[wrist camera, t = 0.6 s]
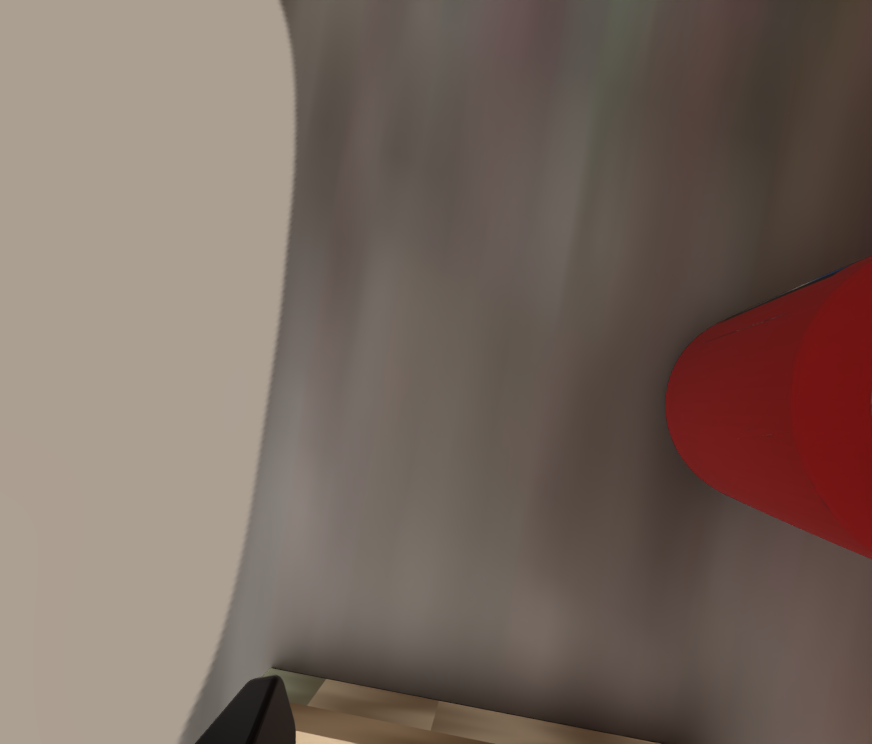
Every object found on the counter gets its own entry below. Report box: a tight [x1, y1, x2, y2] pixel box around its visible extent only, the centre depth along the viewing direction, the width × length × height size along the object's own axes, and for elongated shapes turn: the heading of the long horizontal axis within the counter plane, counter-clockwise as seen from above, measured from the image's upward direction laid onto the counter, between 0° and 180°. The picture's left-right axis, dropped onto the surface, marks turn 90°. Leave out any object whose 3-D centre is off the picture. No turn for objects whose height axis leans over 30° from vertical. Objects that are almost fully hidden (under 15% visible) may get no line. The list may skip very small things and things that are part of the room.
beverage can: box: [665, 256, 872, 559], centre depth 14 cm, size 7×7×12 cm
